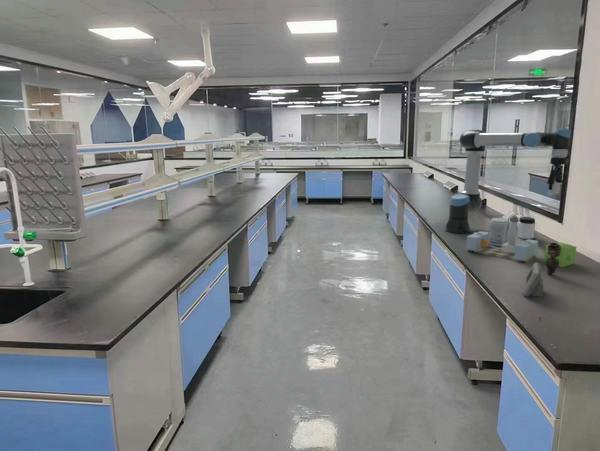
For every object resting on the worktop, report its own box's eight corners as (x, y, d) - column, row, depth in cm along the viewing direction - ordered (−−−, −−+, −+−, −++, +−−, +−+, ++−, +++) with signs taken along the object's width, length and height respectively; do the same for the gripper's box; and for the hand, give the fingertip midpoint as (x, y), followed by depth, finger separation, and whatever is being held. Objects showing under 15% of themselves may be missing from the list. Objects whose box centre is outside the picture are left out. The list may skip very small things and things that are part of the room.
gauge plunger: (475, 244, 224) (475, 239, 223) (477, 243, 226) (478, 238, 225) (486, 246, 220) (486, 241, 219) (488, 245, 222) (489, 240, 221)
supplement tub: (497, 241, 240) (499, 217, 237) (510, 245, 232) (513, 220, 228) (484, 243, 237) (486, 218, 234) (497, 247, 228) (499, 221, 225)
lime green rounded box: (558, 271, 191) (561, 252, 188) (538, 264, 199) (540, 246, 196) (580, 264, 198) (584, 246, 196) (560, 258, 207) (563, 240, 204)
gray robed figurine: (523, 283, 174) (526, 260, 172) (547, 288, 169) (551, 264, 166) (514, 295, 162) (517, 269, 160) (539, 300, 157) (543, 274, 154)
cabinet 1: (466, 248, 221) (467, 234, 220) (479, 243, 232) (480, 229, 230) (475, 250, 218) (476, 236, 216) (488, 244, 228) (489, 231, 227)
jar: (527, 239, 243) (530, 220, 241) (514, 237, 250) (516, 218, 247) (535, 237, 248) (538, 218, 245) (522, 235, 255) (524, 216, 252)
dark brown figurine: (545, 271, 189) (549, 240, 185) (558, 274, 185) (563, 242, 182) (542, 274, 184) (546, 243, 181) (556, 277, 181) (561, 245, 178)
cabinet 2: (514, 258, 203) (515, 243, 201) (526, 252, 214) (528, 237, 212) (524, 260, 200) (526, 245, 198) (536, 254, 210) (538, 239, 209)
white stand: (501, 251, 213) (504, 215, 208) (505, 248, 216) (509, 214, 212) (515, 253, 207) (519, 217, 203) (519, 251, 211) (523, 215, 207)
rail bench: (467, 250, 223) (468, 246, 223) (477, 246, 231) (478, 242, 230) (526, 262, 201) (526, 258, 201) (535, 257, 209) (535, 253, 209)
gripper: (560, 157, 217) (554, 197, 221) (572, 157, 234) (566, 193, 239) (545, 157, 222) (539, 195, 227) (557, 156, 239) (551, 192, 244)
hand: (553, 194), depth 233 cm, fingers open, 13 cm apart
